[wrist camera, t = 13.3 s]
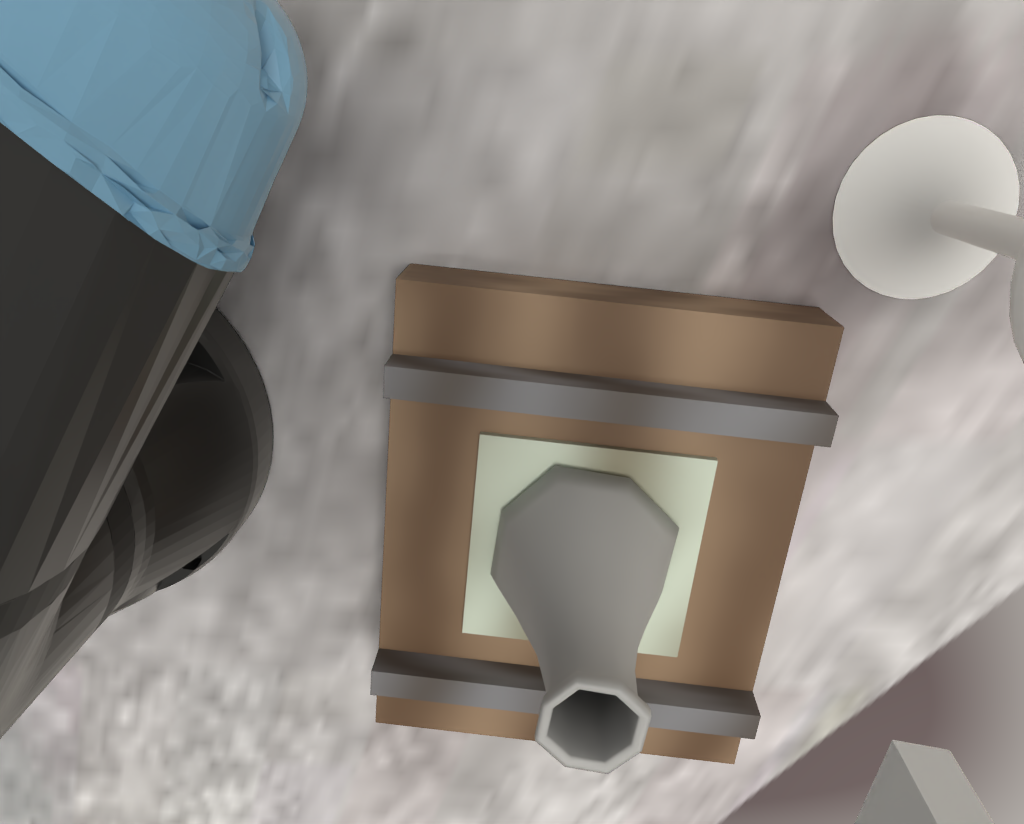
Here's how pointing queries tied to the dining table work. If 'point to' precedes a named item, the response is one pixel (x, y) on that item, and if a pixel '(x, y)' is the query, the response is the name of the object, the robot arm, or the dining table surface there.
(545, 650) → the flask
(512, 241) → the dining table surface
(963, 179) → the champagne flute
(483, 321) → the dock
